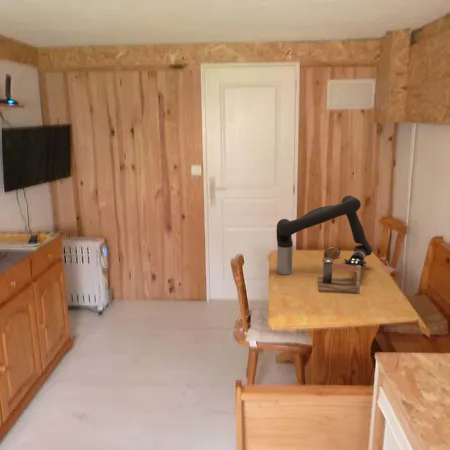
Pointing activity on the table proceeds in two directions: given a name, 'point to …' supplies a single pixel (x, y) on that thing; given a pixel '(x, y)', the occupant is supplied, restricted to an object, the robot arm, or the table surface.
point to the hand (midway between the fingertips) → (352, 267)
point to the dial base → (341, 284)
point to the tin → (332, 252)
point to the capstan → (329, 265)
